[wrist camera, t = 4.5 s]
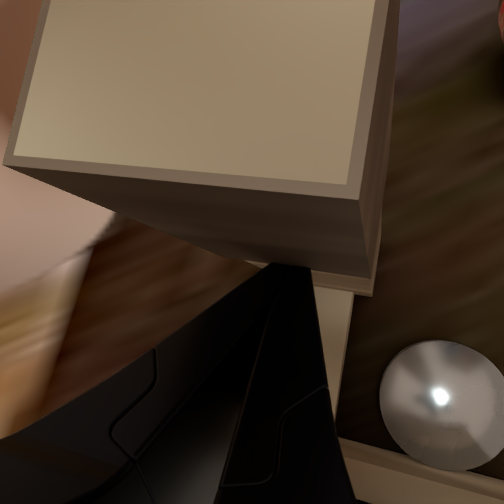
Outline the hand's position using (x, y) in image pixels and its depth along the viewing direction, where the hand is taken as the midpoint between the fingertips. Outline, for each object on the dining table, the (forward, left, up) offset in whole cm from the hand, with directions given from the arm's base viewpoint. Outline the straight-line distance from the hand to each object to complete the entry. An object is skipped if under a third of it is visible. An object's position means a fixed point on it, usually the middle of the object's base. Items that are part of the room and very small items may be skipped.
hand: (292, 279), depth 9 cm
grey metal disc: (-3, -5, -9) cm, 11 cm away
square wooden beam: (-2, -3, -9) cm, 9 cm away
